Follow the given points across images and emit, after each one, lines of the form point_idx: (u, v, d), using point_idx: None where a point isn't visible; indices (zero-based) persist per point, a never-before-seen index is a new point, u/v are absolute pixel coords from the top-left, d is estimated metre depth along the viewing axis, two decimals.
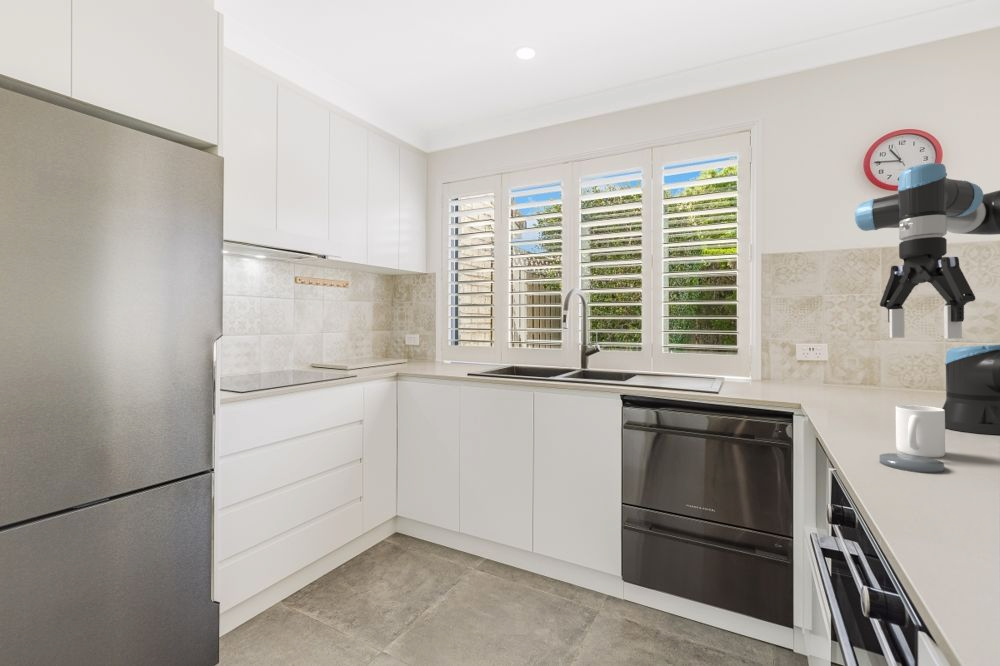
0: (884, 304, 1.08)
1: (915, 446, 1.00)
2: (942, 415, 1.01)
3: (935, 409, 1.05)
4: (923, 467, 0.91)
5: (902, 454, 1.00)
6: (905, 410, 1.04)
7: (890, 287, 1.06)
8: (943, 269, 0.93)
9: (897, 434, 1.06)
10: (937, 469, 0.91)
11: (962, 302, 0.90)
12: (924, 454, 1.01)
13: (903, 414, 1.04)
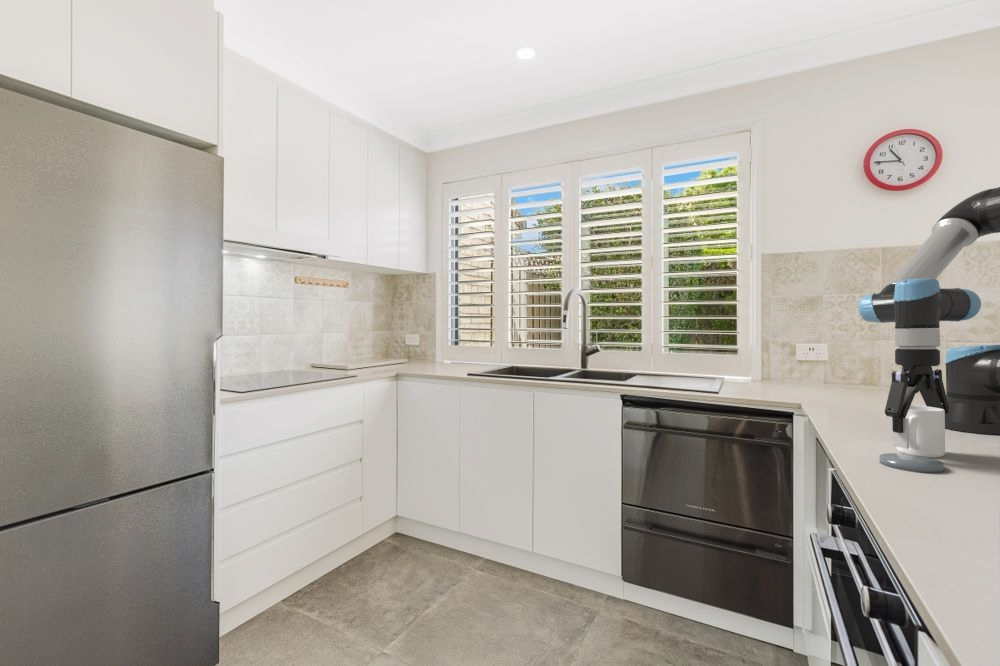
0: None
1: (915, 446, 1.00)
2: (942, 415, 1.01)
3: (935, 409, 1.05)
4: (923, 467, 0.91)
5: (902, 454, 1.00)
6: None
7: None
8: None
9: None
10: (937, 469, 0.91)
11: (891, 415, 1.01)
12: (924, 454, 1.01)
13: None
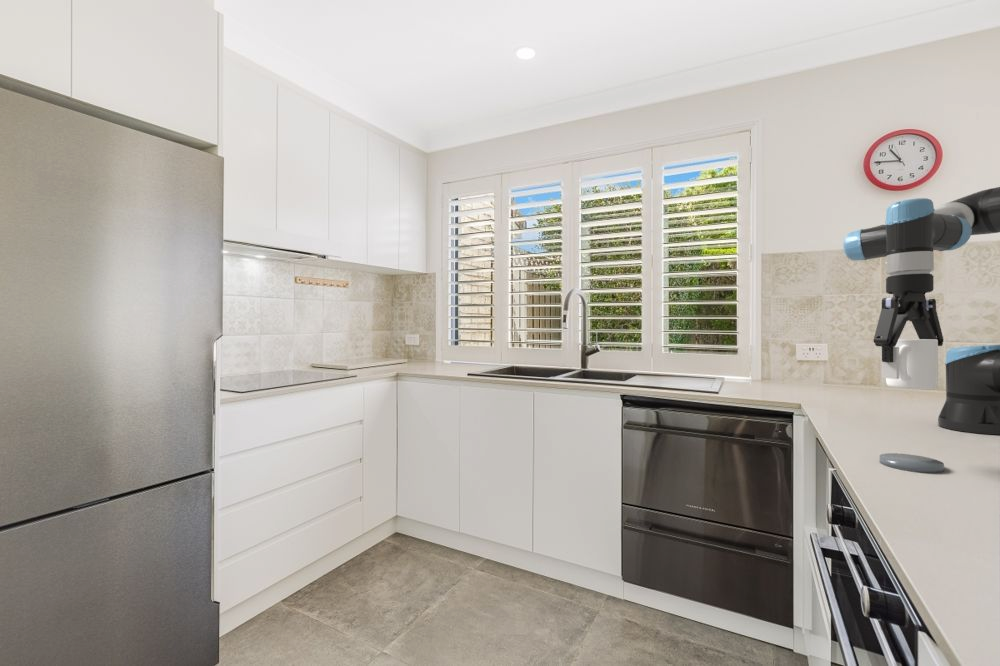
0: None
1: (906, 376, 0.94)
2: (935, 344, 0.95)
3: None
4: (923, 467, 0.91)
5: (902, 454, 1.00)
6: None
7: None
8: None
9: None
10: (937, 469, 0.91)
11: (881, 344, 0.95)
12: (915, 386, 0.95)
13: None
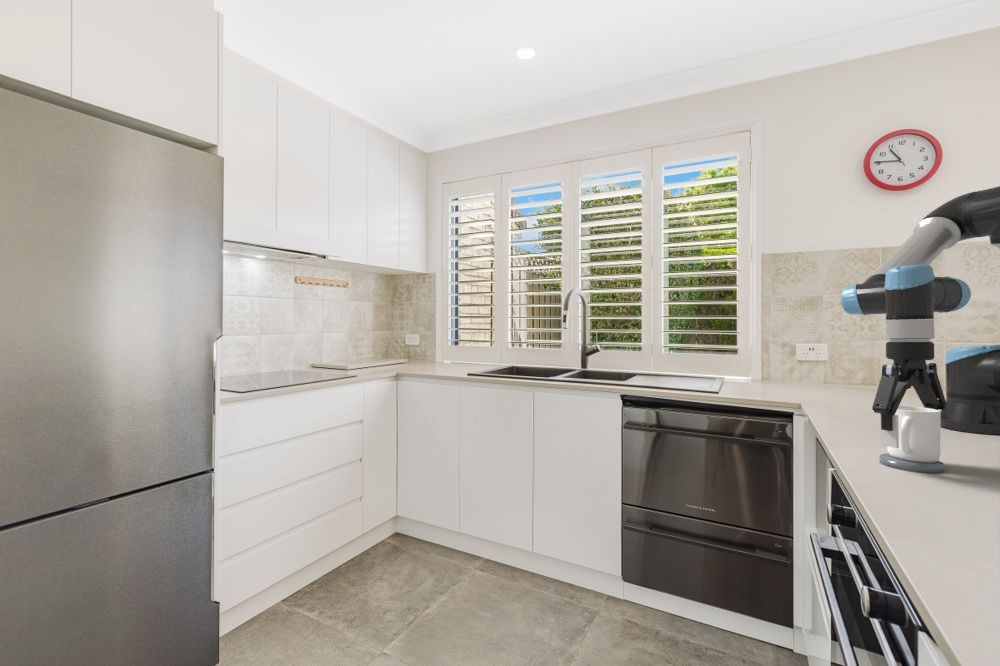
0: None
1: (908, 450, 0.92)
2: (938, 417, 0.93)
3: (930, 410, 0.97)
4: (923, 467, 0.91)
5: None
6: (898, 411, 0.96)
7: None
8: None
9: None
10: (937, 469, 0.91)
11: (880, 412, 0.93)
12: (917, 459, 0.93)
13: None
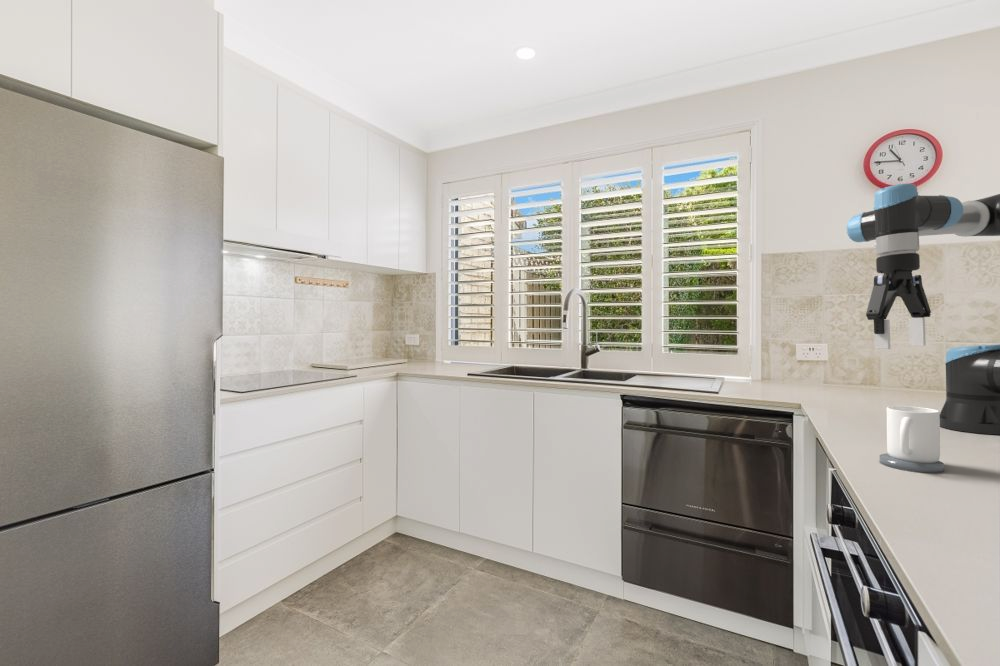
0: None
1: (908, 451, 0.92)
2: (937, 417, 0.93)
3: (929, 410, 0.97)
4: (923, 467, 0.91)
5: None
6: (897, 412, 0.96)
7: None
8: None
9: (888, 437, 0.98)
10: (937, 469, 0.91)
11: (873, 317, 1.02)
12: (917, 459, 0.93)
13: (894, 416, 0.96)
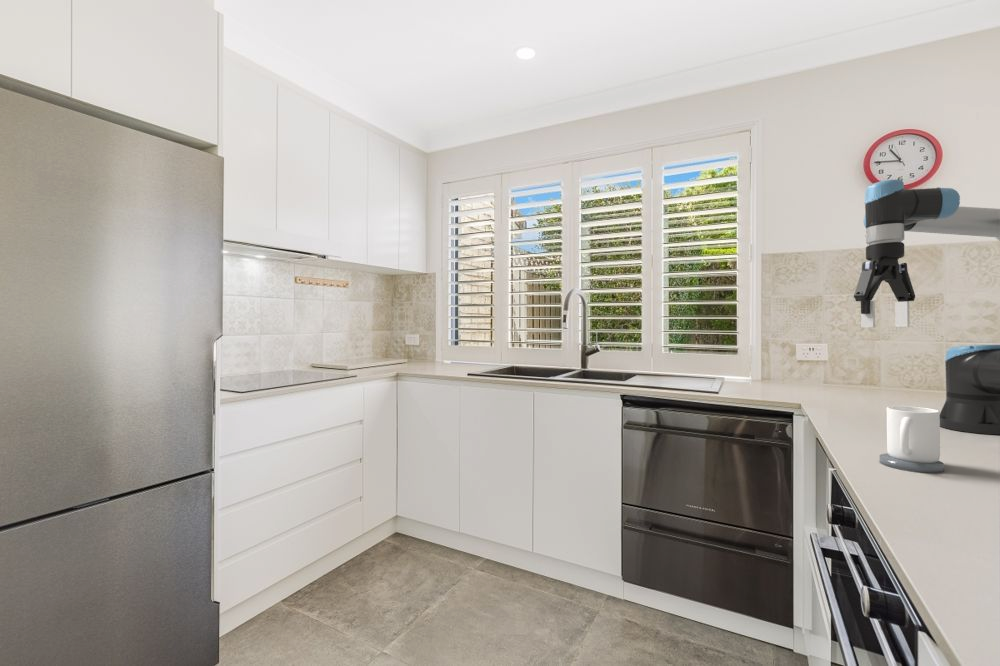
0: None
1: (908, 451, 0.92)
2: (937, 417, 0.93)
3: (929, 410, 0.97)
4: (923, 467, 0.91)
5: None
6: (897, 412, 0.96)
7: None
8: None
9: (888, 437, 0.98)
10: (937, 469, 0.91)
11: (860, 298, 1.14)
12: (917, 459, 0.93)
13: (894, 416, 0.96)
